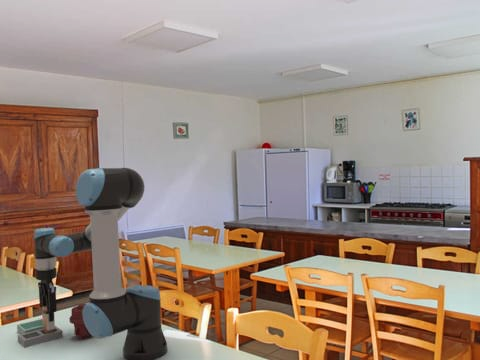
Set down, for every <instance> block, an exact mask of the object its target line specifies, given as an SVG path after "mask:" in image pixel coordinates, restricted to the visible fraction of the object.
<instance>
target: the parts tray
mask: <svg viewBox="0 0 480 360" xmlns="http://www.w3.org/2000/svg"><path fill="white" fill-rule="evenodd" d="M16 329H17V330H16V331H17V333H18V335H21V334H24V333H28V332H32V331H36V330H40V329H43V320H42V318H39V319H35V320H32V321H27V322H24V323H23V322H22V323H19V324H16Z"/></svg>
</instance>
